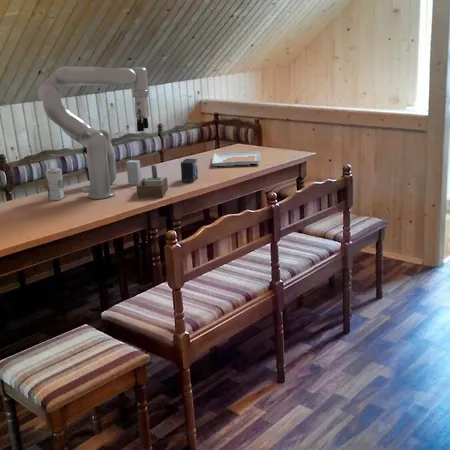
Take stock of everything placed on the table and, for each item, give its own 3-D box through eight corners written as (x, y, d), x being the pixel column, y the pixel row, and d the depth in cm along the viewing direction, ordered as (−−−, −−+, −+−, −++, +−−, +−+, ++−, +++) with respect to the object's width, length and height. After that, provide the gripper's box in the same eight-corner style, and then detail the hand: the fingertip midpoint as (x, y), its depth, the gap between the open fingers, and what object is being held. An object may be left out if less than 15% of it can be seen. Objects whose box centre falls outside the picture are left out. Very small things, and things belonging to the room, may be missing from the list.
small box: (193, 182, 319) (192, 162, 315) (181, 182, 320) (179, 162, 317) (198, 178, 328) (197, 158, 325) (186, 178, 330) (185, 158, 327)
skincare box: (142, 183, 324) (140, 160, 320) (139, 185, 320) (136, 162, 316) (131, 182, 325) (129, 160, 322) (128, 184, 321) (125, 162, 318)
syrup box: (53, 197, 305) (49, 168, 300) (65, 197, 304) (61, 168, 299) (48, 200, 299) (44, 170, 295) (60, 200, 298) (56, 170, 294)
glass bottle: (93, 184, 326) (87, 131, 317) (110, 180, 332) (104, 128, 324) (104, 187, 319) (98, 132, 310) (121, 183, 326) (115, 129, 317)
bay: (162, 197, 294) (161, 185, 292) (137, 198, 294) (136, 186, 293) (167, 189, 309) (167, 177, 307) (143, 189, 310) (142, 178, 308)
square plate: (214, 158, 375) (213, 152, 374) (259, 156, 374) (259, 150, 373) (211, 168, 349) (211, 162, 348) (260, 166, 348) (260, 159, 347)
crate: (162, 190, 302) (160, 168, 299) (144, 191, 303) (142, 168, 300) (164, 186, 310) (162, 164, 306) (147, 187, 310) (145, 165, 307)
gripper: (144, 95, 291) (146, 132, 296) (151, 92, 307) (154, 127, 312) (128, 96, 292) (131, 132, 297) (136, 92, 308) (139, 127, 313)
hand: (142, 129), depth 305 cm, fingers open, 9 cm apart
